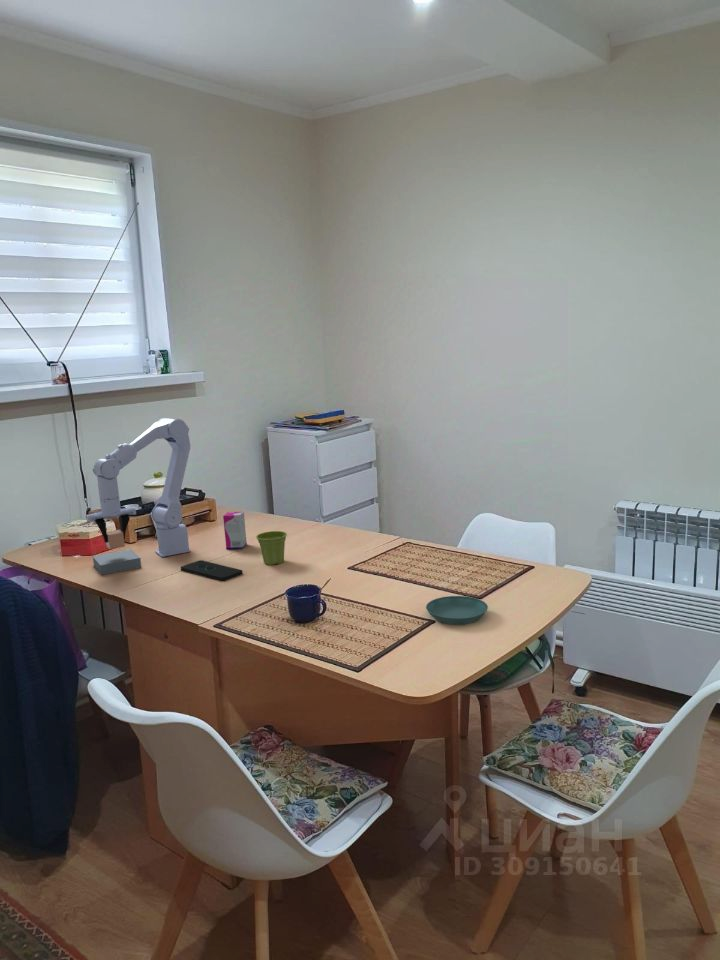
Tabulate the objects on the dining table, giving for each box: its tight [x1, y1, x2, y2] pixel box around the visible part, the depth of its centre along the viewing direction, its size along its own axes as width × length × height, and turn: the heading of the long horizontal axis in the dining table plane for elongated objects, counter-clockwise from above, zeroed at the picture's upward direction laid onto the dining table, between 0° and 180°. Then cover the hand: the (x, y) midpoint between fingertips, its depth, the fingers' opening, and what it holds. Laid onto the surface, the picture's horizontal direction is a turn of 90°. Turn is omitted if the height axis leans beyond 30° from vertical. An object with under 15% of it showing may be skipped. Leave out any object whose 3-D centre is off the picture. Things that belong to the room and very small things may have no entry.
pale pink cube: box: [105, 529, 126, 550], centre depth 235 cm, size 4×4×4 cm
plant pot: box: [255, 530, 288, 566], centre depth 231 cm, size 9×9×9 cm
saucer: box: [425, 595, 489, 626], centre depth 182 cm, size 15×15×3 cm
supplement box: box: [222, 511, 248, 550], centre depth 250 cm, size 6×6×12 cm
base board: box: [92, 548, 142, 576], centre depth 236 cm, size 12×12×3 cm
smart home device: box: [180, 559, 244, 582], centre depth 226 cm, size 8×2×20 cm
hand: (114, 540), depth 235 cm, fingers closed on pale pink cube, 4 cm apart
